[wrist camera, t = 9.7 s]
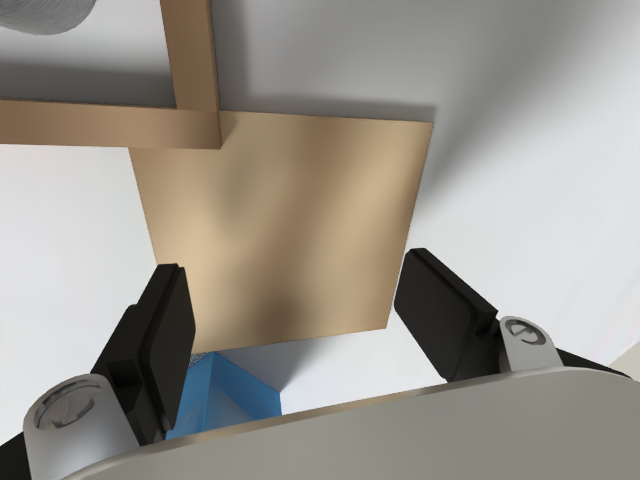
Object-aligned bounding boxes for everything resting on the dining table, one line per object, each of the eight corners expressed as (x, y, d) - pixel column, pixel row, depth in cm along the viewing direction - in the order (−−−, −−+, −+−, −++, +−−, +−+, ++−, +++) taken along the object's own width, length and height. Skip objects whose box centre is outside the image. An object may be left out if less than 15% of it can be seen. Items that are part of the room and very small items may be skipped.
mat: (425, 121, 12) (433, 123, 12) (381, 321, 18) (386, 328, 17) (124, 104, 10) (117, 104, 9) (181, 347, 15) (179, 356, 14)
